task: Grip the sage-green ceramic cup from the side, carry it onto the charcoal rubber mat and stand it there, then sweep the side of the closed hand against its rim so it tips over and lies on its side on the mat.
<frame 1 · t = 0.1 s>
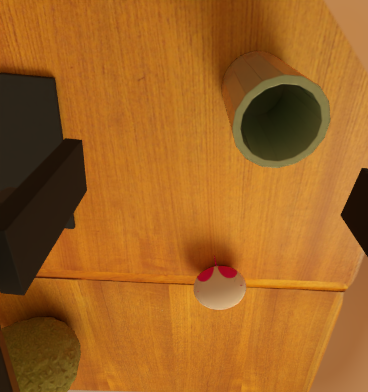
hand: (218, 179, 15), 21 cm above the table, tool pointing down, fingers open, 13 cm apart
fruit: (46, 325, 56), on the table
stress ball: (217, 268, 47), on the table
cup: (254, 86, 32), on the table
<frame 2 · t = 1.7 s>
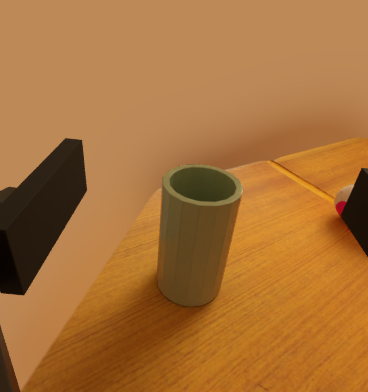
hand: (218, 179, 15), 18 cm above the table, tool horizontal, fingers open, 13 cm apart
stress ball: (353, 224, 44), on the table
cup: (188, 279, 32), on the table
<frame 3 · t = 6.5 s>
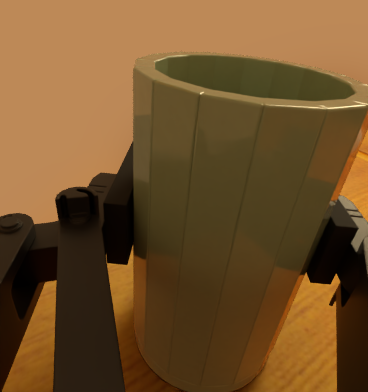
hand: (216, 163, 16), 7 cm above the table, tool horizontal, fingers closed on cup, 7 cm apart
cup: (202, 322, 15), on the table, touching gripper
when the fingers open (7 cm above the table, at t = 16.1 s): cup stays where it is, resting on mat.
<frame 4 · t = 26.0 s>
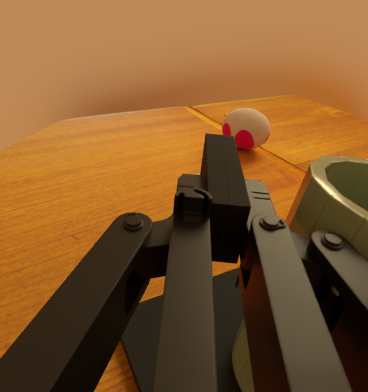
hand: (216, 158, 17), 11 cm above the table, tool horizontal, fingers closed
mat: (320, 379, 18), on the table
stress ball: (239, 148, 47), on the table
cup: (289, 370, 18), point 1 cm above the table, tilted 5°, touching mat
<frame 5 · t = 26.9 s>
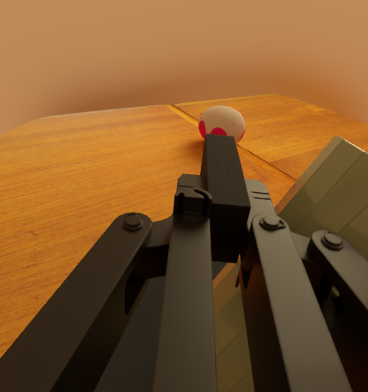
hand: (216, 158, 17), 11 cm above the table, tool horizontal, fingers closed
mat: (260, 373, 18), on the table
stress ball: (215, 146, 47), on the table
cup: (236, 351, 17), point 2 cm above the table, tilted 27°, touching gripper, mat
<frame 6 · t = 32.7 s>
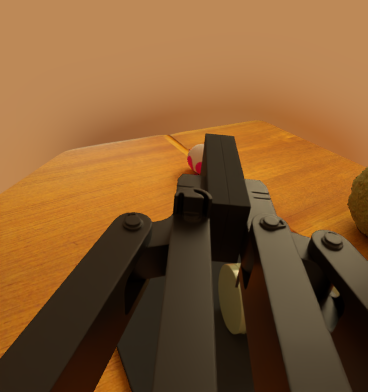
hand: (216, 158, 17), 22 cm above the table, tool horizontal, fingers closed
mat: (211, 323, 33), on the table
stress ball: (200, 174, 62), on the table
cup: (228, 298, 31), point 4 cm above the table, tilted 90°, touching mat
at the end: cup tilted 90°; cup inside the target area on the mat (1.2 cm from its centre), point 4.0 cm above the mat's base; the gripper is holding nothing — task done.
